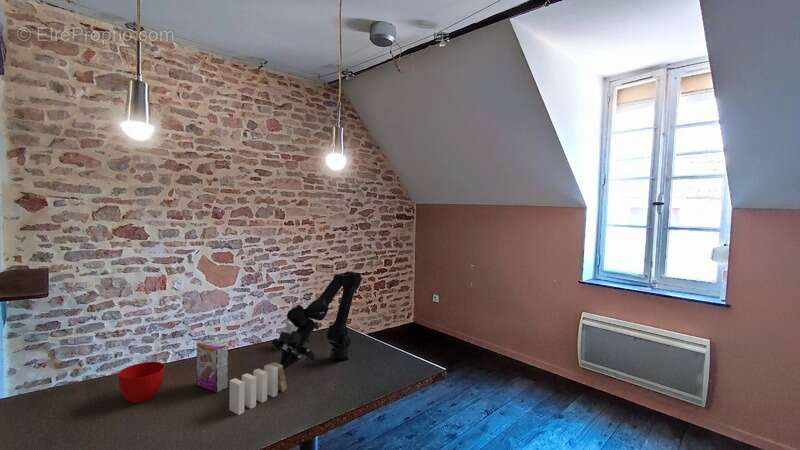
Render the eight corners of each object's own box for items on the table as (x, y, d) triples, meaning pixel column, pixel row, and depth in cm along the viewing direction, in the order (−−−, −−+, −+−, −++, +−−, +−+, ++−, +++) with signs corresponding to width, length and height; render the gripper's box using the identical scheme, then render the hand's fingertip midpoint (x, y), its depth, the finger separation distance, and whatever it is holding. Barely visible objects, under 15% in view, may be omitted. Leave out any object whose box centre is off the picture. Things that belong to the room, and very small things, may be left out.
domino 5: (278, 384, 138) (273, 361, 135) (287, 388, 135) (282, 365, 133) (273, 387, 136) (268, 364, 134) (283, 391, 134) (278, 368, 131)
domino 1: (234, 407, 123) (235, 378, 122) (244, 412, 120) (244, 382, 120) (229, 410, 121) (229, 380, 121) (238, 414, 119) (239, 384, 118)
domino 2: (246, 401, 127) (247, 373, 126) (256, 405, 124) (256, 377, 124) (241, 403, 125) (241, 375, 124) (250, 408, 122) (251, 379, 122)
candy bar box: (195, 386, 136) (195, 342, 135) (207, 380, 140) (207, 338, 139) (216, 393, 131) (216, 348, 130) (228, 387, 135) (228, 344, 135)
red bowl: (157, 381, 138) (157, 355, 138) (168, 399, 126) (168, 370, 126) (114, 392, 129) (113, 364, 129) (121, 413, 117) (121, 382, 117)
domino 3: (257, 395, 131) (258, 368, 130) (267, 400, 128) (267, 372, 127) (252, 398, 129) (253, 370, 128) (262, 402, 126) (262, 374, 126)
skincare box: (299, 347, 174) (300, 322, 174) (290, 350, 172) (291, 324, 171) (294, 343, 179) (294, 319, 179) (285, 345, 176) (285, 321, 176)
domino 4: (268, 390, 134) (268, 363, 134) (277, 394, 132) (277, 367, 131) (263, 392, 133) (264, 365, 132) (272, 397, 130) (273, 369, 130)
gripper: (275, 318, 144) (250, 354, 135) (310, 327, 134) (285, 368, 125) (290, 332, 151) (267, 368, 142) (324, 342, 141) (302, 381, 132)
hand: (279, 371), depth 135 cm, fingers closed
